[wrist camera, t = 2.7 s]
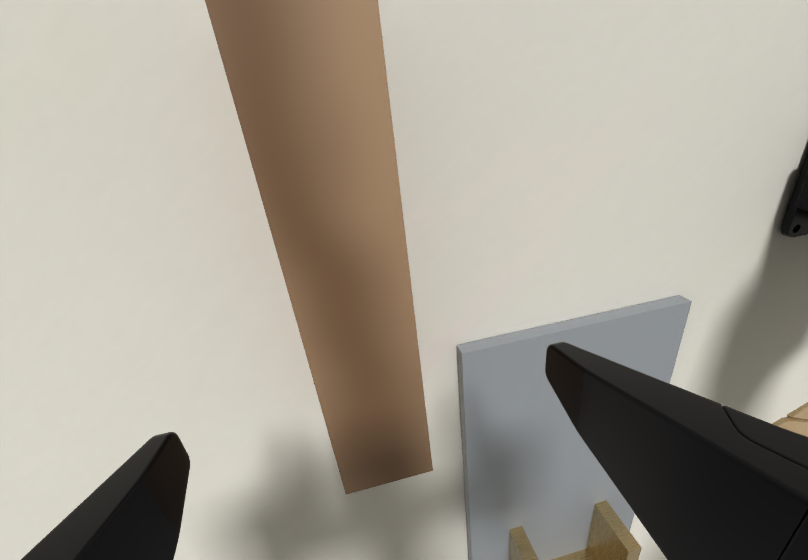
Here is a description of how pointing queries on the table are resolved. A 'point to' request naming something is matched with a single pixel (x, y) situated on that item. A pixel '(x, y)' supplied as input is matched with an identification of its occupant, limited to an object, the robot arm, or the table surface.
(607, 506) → the cup bracket
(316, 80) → the walnut rail
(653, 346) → the mounting board
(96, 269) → the table surface
